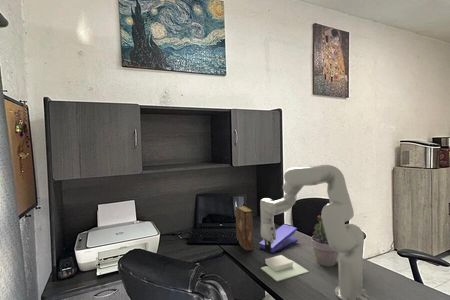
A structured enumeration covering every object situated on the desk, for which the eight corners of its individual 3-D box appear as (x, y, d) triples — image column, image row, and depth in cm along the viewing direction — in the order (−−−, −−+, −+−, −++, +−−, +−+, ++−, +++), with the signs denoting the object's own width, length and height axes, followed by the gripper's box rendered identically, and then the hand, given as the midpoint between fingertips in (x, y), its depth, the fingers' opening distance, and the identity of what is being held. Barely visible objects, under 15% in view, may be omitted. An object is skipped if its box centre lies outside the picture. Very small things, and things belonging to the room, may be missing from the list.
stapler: (298, 241, 177) (298, 227, 176) (273, 254, 158) (272, 238, 158) (284, 236, 185) (284, 223, 185) (259, 248, 167) (258, 233, 166)
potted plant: (333, 275, 131) (332, 226, 130) (302, 261, 147) (301, 217, 146) (353, 265, 141) (352, 219, 140) (322, 252, 157) (321, 212, 156)
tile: (281, 259, 149) (292, 267, 140) (265, 263, 144) (276, 271, 135) (281, 254, 149) (292, 262, 140) (265, 259, 144) (275, 266, 135)
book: (254, 249, 165) (253, 210, 164) (246, 251, 163) (245, 212, 162) (243, 240, 180) (242, 205, 179) (236, 241, 178) (235, 206, 177)
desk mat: (308, 272, 135) (308, 271, 135) (277, 281, 127) (277, 280, 127) (290, 260, 149) (290, 259, 149) (260, 268, 140) (260, 267, 140)
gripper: (280, 222, 146) (280, 254, 146) (265, 215, 159) (266, 244, 160) (268, 224, 143) (269, 257, 143) (255, 217, 156) (255, 247, 157)
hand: (268, 250), depth 152 cm, fingers closed
